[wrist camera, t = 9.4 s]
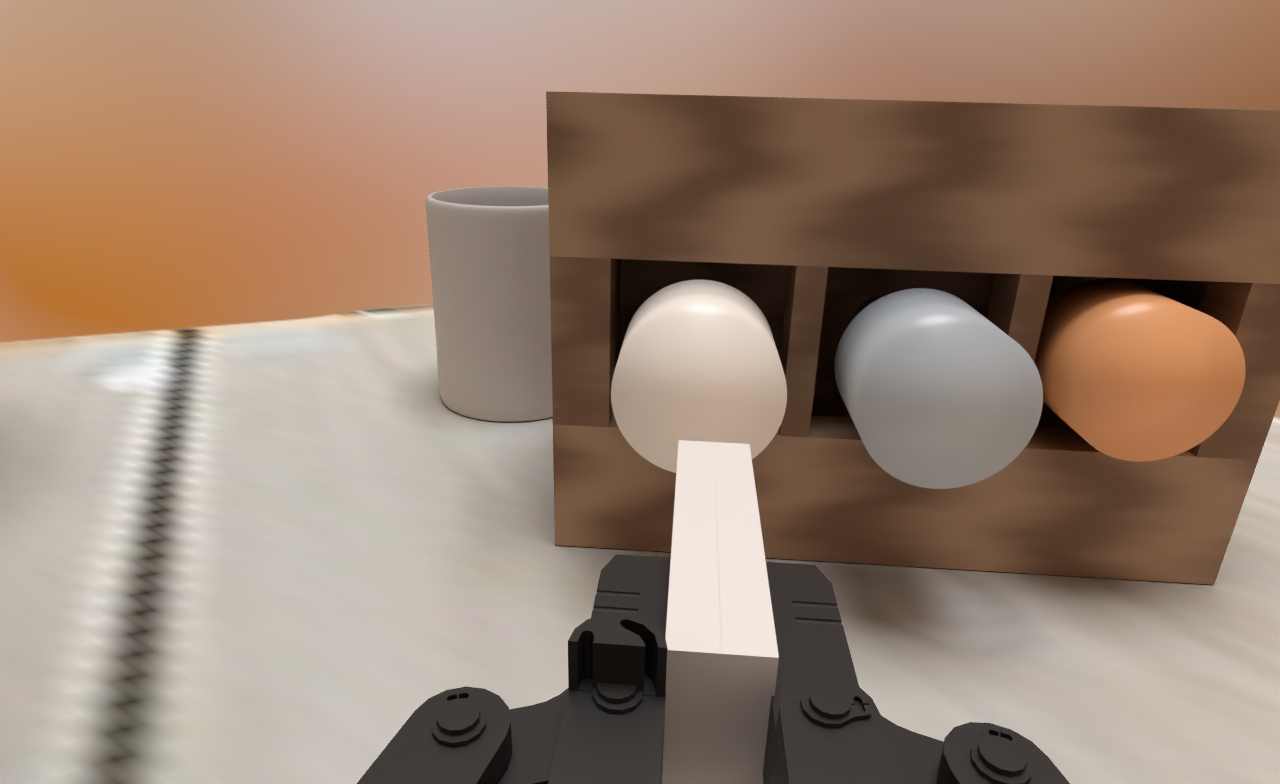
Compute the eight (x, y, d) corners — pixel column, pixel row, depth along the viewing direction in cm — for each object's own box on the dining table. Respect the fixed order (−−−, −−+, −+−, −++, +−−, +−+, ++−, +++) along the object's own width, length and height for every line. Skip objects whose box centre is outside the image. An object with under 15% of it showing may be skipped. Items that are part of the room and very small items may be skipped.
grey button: (847, 484, 22) (870, 319, 21) (809, 384, 30) (823, 258, 28) (1022, 493, 22) (1061, 327, 20) (938, 390, 30) (961, 263, 28)
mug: (586, 425, 39) (586, 209, 35) (421, 421, 39) (402, 204, 35) (599, 352, 51) (599, 181, 47) (470, 349, 51) (460, 178, 47)
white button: (610, 471, 23) (611, 308, 21) (632, 375, 30) (635, 250, 29) (778, 480, 22) (795, 316, 21) (758, 381, 30) (769, 255, 28)
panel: (555, 545, 29) (546, 91, 23) (590, 435, 38) (590, 92, 32) (1213, 584, 28) (1381, 113, 22) (1083, 460, 37) (1176, 107, 31)
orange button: (1054, 457, 24) (1091, 305, 23) (968, 370, 32) (991, 251, 30) (1217, 465, 24) (1268, 312, 22) (1091, 375, 32) (1121, 256, 30)
